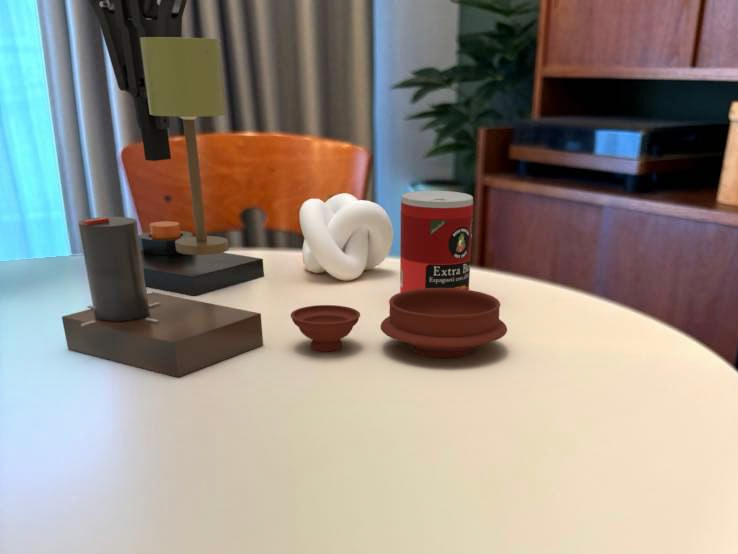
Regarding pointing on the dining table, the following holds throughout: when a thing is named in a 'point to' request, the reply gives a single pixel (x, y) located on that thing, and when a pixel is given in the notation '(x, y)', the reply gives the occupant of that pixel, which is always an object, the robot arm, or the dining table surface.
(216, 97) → the desk lamp
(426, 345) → the pottery
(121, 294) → the dimmer knob
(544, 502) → the dining table surface
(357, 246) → the white knot sculpture
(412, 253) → the canned food
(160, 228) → the lamp switch
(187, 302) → the panel
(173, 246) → the lamp base
